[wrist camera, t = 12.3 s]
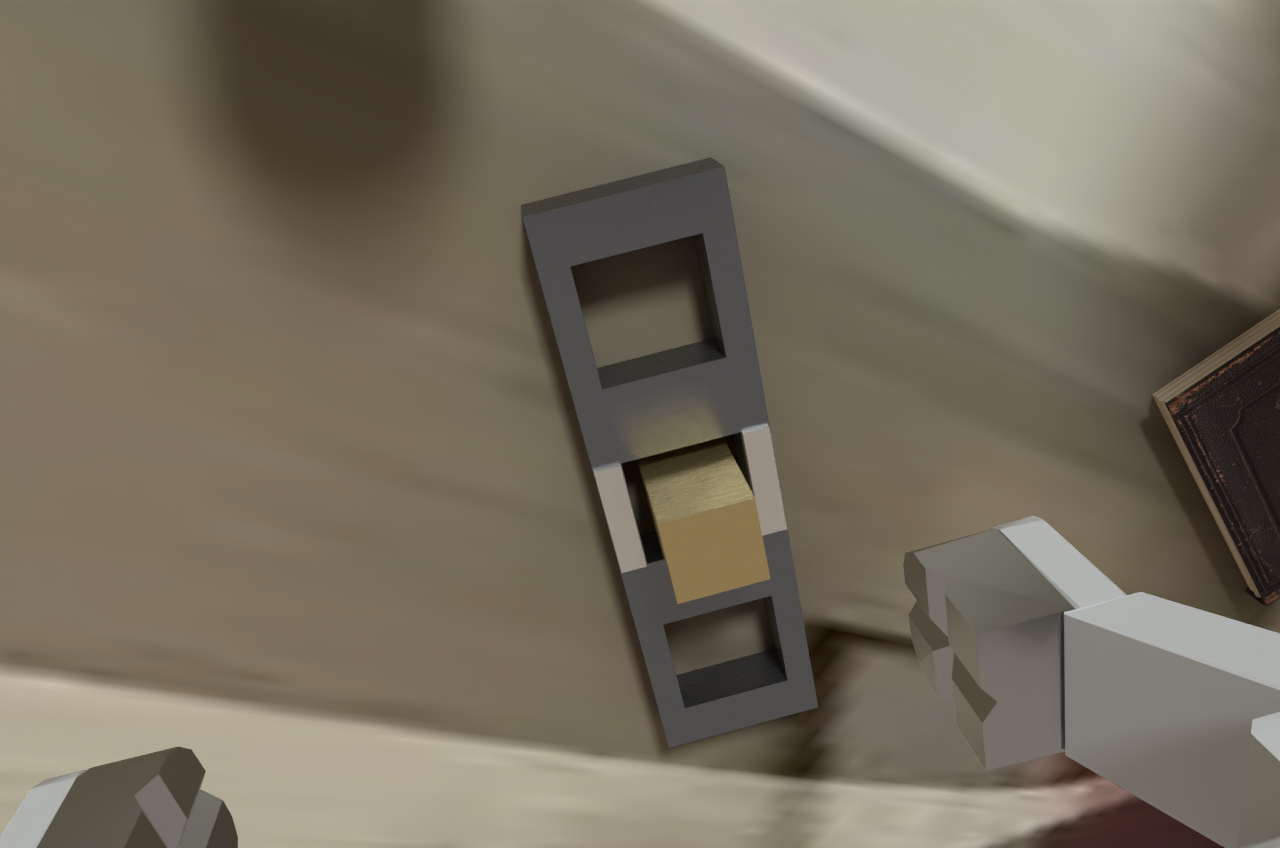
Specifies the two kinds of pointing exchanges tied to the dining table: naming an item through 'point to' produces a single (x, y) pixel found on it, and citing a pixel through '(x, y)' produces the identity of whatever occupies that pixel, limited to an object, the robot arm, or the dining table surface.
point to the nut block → (704, 520)
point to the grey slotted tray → (677, 432)
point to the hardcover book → (1236, 446)
